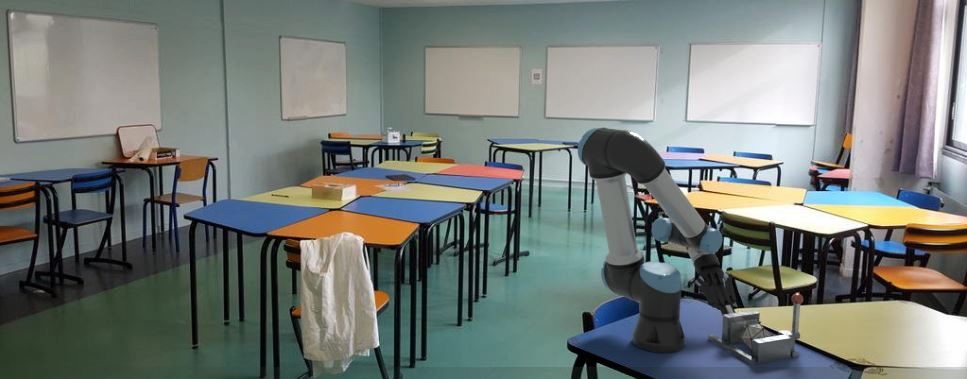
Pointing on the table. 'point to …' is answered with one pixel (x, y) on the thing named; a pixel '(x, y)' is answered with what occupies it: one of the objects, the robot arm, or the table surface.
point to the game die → (754, 334)
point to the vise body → (763, 348)
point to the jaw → (737, 325)
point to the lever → (796, 314)
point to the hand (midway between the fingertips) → (734, 326)
